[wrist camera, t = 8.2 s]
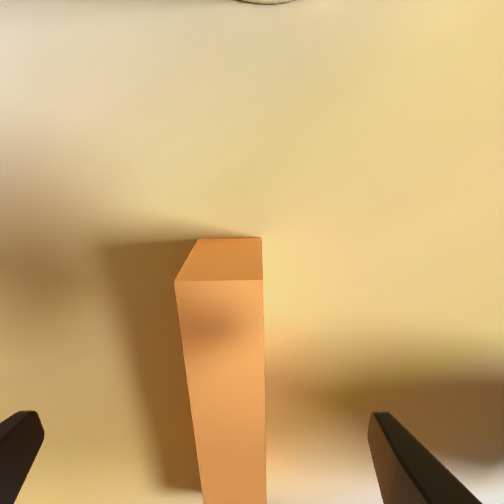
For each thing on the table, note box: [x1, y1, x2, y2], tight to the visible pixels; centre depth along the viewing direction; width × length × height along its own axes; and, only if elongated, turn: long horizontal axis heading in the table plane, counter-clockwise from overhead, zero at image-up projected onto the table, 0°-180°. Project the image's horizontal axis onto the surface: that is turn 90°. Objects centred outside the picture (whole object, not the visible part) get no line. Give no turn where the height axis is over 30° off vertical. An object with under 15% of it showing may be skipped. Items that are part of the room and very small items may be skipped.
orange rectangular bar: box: [174, 238, 267, 504], centre depth 17 cm, size 20×3×5 cm, turn 2°
